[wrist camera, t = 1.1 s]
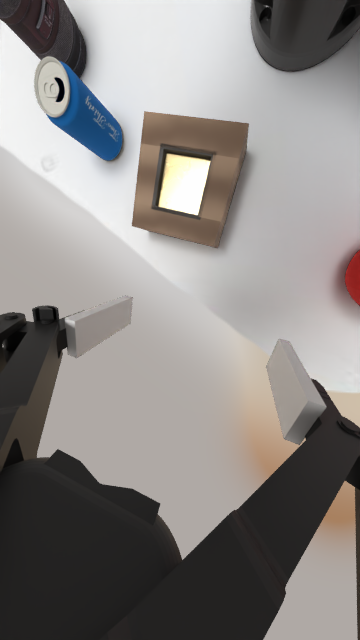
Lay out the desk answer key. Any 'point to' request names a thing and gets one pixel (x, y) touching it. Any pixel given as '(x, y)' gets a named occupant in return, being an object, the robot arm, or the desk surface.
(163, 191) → the gold metal plaque
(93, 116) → the beverage can
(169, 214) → the socket block
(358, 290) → the ceramic cup
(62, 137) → the desk surface
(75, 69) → the camera lens
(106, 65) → the desk surface
